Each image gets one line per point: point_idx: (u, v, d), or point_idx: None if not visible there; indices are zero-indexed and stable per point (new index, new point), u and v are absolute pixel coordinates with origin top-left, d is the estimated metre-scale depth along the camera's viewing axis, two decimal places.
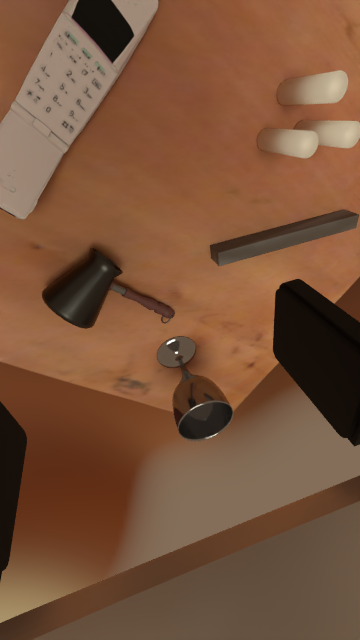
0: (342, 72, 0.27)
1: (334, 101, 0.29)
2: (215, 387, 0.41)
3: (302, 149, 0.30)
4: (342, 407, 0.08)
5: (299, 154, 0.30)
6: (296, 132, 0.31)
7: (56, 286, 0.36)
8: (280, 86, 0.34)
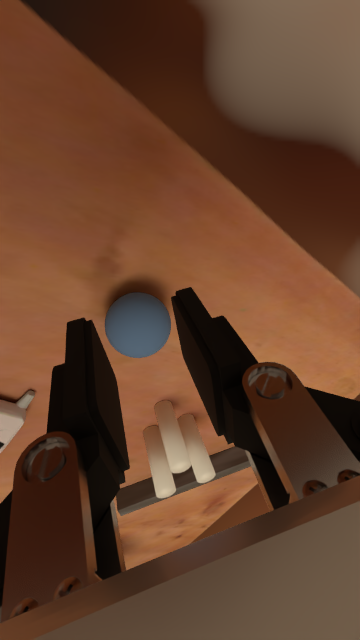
0: (183, 460, 0.32)
1: (182, 471, 0.33)
2: None
3: (161, 495, 0.35)
4: (211, 408, 0.08)
5: (160, 497, 0.35)
6: (157, 477, 0.35)
7: None
8: (155, 408, 0.38)
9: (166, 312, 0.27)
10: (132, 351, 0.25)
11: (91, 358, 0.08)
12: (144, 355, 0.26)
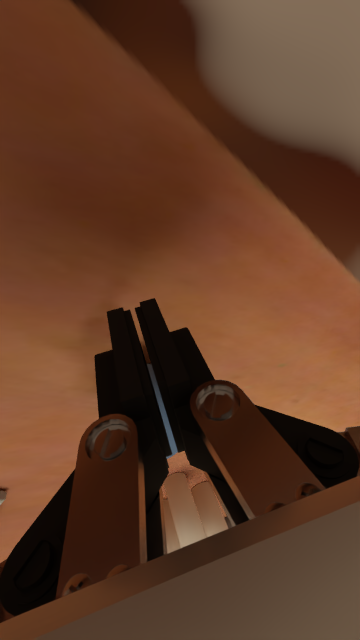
0: None
1: None
2: None
3: None
4: None
5: None
6: None
7: None
8: (165, 483, 0.30)
9: None
10: None
11: (137, 345, 0.08)
12: None
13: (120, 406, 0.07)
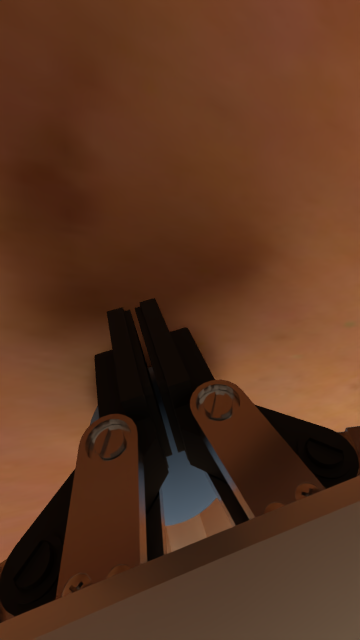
0: None
1: None
2: None
3: None
4: None
5: None
6: None
7: None
8: None
9: None
10: None
11: (137, 345, 0.08)
12: None
13: (120, 406, 0.07)
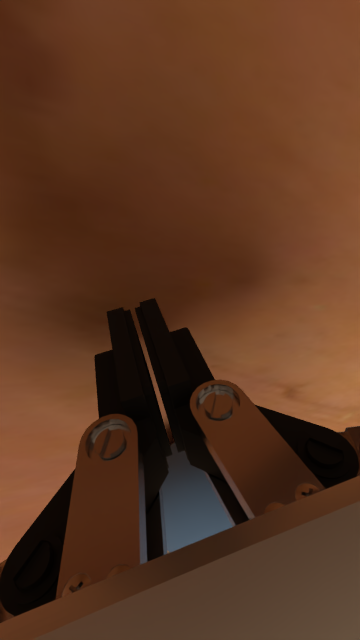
0: None
1: None
2: None
3: None
4: None
5: None
6: None
7: None
8: None
9: None
10: None
11: (137, 345, 0.08)
12: (184, 456, 0.14)
13: (120, 406, 0.07)
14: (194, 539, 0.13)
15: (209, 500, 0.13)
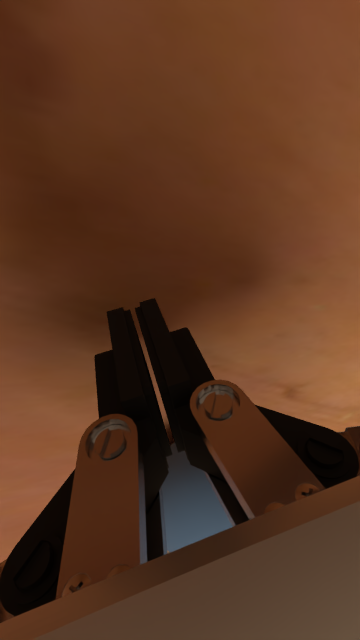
0: None
1: None
2: None
3: None
4: None
5: None
6: None
7: None
8: None
9: None
10: None
11: (137, 345, 0.08)
12: (184, 456, 0.14)
13: (120, 406, 0.07)
14: (194, 539, 0.13)
15: (209, 500, 0.13)
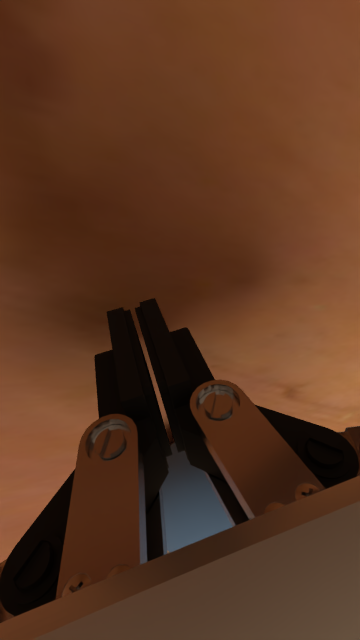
0: None
1: None
2: None
3: None
4: None
5: None
6: None
7: None
8: None
9: None
10: None
11: (137, 345, 0.08)
12: (184, 456, 0.14)
13: (120, 406, 0.07)
14: (194, 539, 0.13)
15: (209, 500, 0.13)
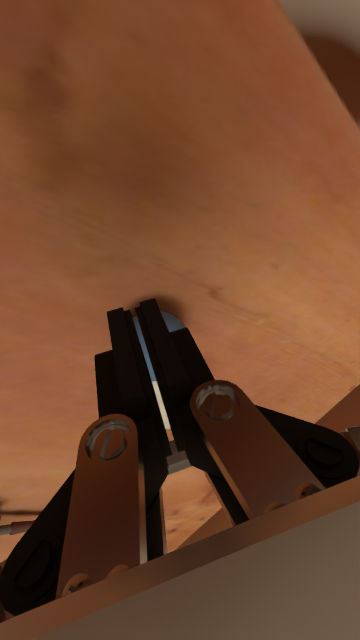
0: None
1: None
2: None
3: None
4: None
5: None
6: None
7: None
8: None
9: None
10: None
11: (137, 345, 0.08)
12: None
13: (120, 406, 0.07)
14: None
15: None
